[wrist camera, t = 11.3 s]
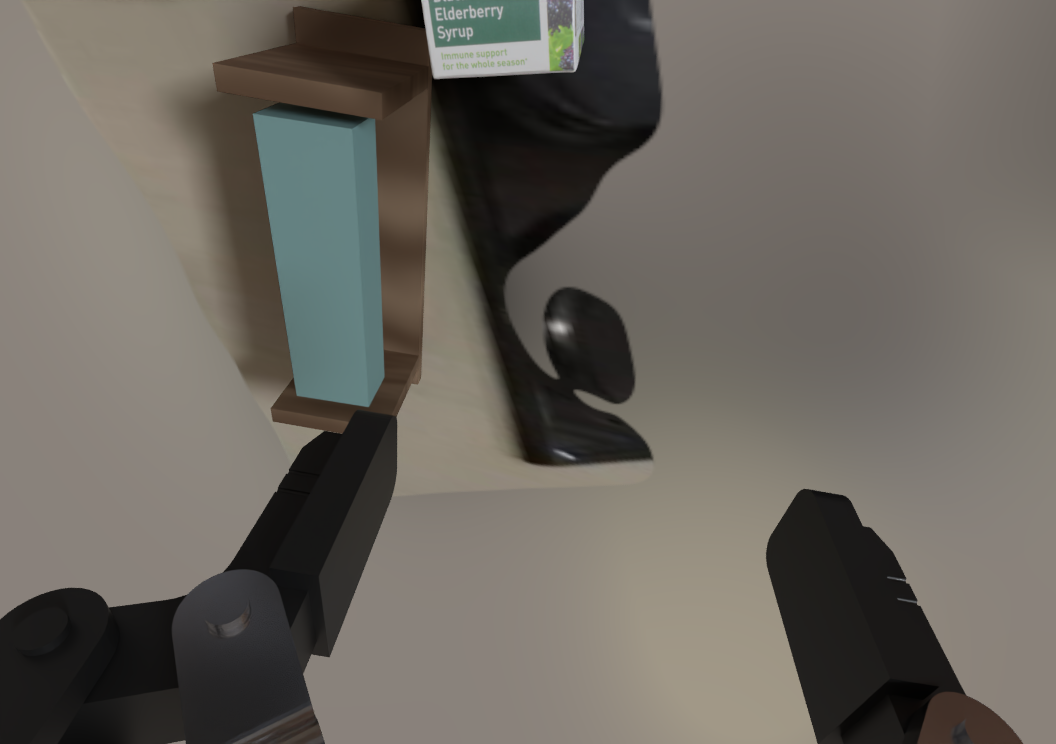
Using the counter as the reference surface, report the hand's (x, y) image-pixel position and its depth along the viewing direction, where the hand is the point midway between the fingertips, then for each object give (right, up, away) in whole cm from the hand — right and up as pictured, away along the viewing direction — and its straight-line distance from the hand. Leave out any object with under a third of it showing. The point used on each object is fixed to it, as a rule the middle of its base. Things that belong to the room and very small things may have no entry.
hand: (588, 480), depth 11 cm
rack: (-13, +13, +30) cm, 35 cm away
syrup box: (-1, +24, +20) cm, 31 cm away
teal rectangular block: (-13, +9, +25) cm, 29 cm away
